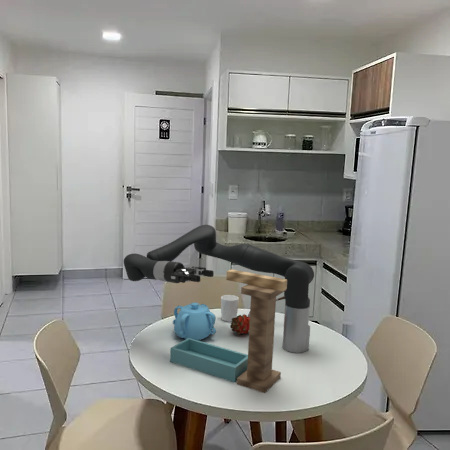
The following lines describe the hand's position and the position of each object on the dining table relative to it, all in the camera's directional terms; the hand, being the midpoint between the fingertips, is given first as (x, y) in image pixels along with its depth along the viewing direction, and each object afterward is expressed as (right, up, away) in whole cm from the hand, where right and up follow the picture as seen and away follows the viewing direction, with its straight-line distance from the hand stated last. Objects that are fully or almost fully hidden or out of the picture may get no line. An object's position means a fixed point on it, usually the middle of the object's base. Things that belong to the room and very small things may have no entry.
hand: (206, 276), depth 156 cm
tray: (+1, -31, +1) cm, 31 cm away
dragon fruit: (+13, -27, +31) cm, 43 cm away
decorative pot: (-6, -27, +26) cm, 38 cm away
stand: (+17, -33, -9) cm, 38 cm away
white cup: (+8, -25, +46) cm, 53 cm away
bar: (+16, -1, -12) cm, 20 cm away
